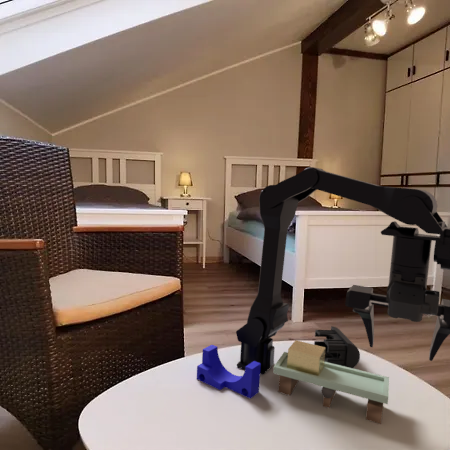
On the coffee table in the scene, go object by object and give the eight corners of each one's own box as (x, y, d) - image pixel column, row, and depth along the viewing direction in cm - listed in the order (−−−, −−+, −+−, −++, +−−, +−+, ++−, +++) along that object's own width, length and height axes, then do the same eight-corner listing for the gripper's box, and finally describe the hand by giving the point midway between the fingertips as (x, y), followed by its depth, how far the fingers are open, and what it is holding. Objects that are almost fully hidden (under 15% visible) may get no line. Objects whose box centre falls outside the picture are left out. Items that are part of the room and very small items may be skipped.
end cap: (358, 373, 80) (361, 343, 79) (327, 373, 79) (329, 343, 78) (341, 352, 90) (343, 326, 89) (312, 352, 89) (314, 325, 88)
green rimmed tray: (273, 376, 70) (273, 366, 70) (283, 361, 76) (284, 351, 76) (387, 407, 62) (388, 396, 61) (388, 387, 68) (389, 377, 68)
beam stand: (277, 393, 70) (278, 373, 70) (288, 377, 77) (289, 358, 76) (380, 425, 62) (382, 403, 62) (383, 404, 68) (385, 384, 68)
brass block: (286, 368, 70) (288, 348, 70) (294, 358, 74) (295, 340, 74) (318, 377, 67) (319, 357, 67) (323, 367, 72) (325, 347, 71)
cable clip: (196, 379, 74) (197, 351, 73) (210, 371, 78) (211, 344, 77) (245, 403, 67) (247, 372, 66) (258, 393, 71) (260, 363, 70)
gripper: (343, 264, 58) (335, 357, 60) (485, 283, 50) (471, 391, 52) (353, 254, 68) (346, 334, 70) (473, 269, 60) (461, 359, 62)
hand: (400, 353), depth 63 cm, fingers open, 9 cm apart
